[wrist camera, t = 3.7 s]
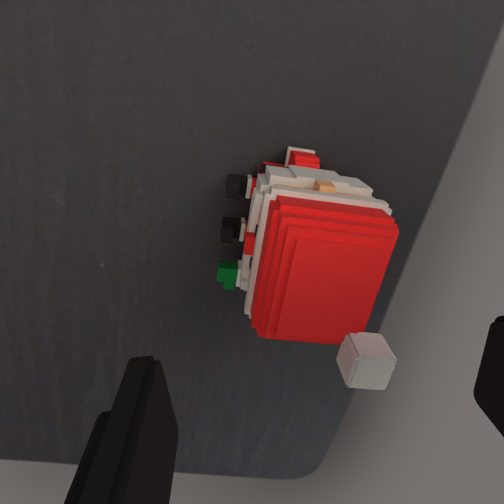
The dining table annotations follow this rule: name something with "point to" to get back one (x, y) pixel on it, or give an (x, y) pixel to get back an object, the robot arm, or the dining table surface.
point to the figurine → (313, 261)
